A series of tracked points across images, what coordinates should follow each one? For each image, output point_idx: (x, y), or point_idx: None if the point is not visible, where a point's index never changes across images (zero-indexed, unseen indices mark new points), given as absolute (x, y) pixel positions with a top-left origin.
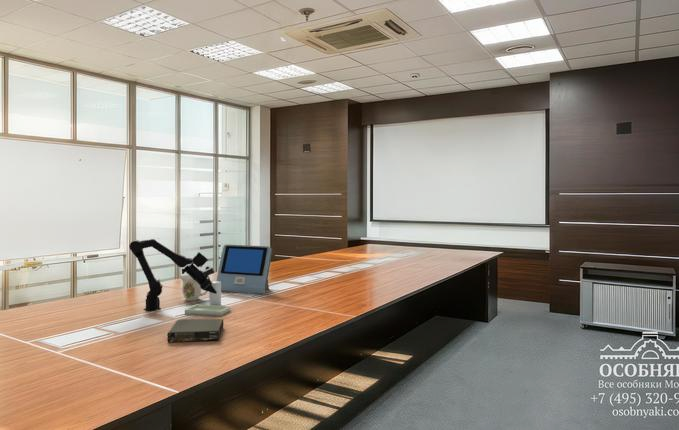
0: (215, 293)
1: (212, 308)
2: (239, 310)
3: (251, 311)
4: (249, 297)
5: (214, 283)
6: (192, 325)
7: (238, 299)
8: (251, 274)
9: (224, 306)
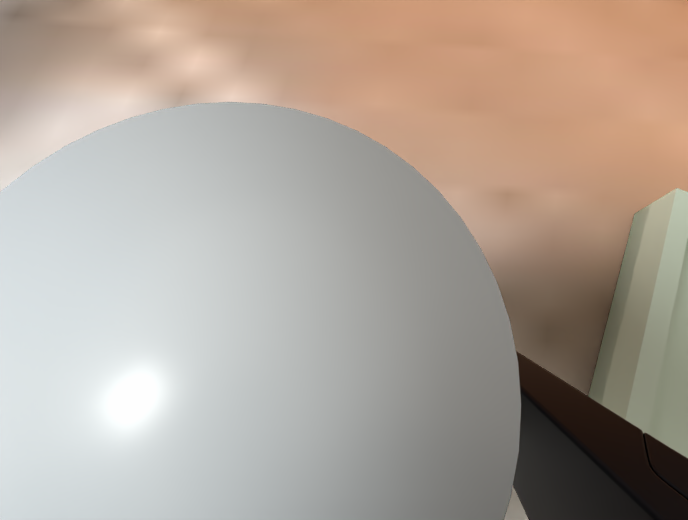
0: None
1: None
2: (614, 125)
3: (655, 33)
4: (29, 8)
5: (520, 403)
6: None
7: (78, 109)
8: None
9: (681, 255)
